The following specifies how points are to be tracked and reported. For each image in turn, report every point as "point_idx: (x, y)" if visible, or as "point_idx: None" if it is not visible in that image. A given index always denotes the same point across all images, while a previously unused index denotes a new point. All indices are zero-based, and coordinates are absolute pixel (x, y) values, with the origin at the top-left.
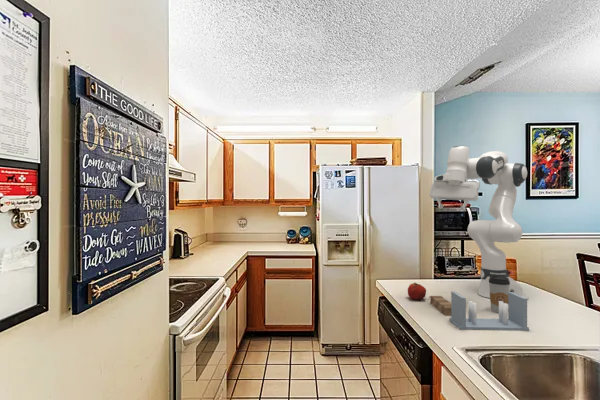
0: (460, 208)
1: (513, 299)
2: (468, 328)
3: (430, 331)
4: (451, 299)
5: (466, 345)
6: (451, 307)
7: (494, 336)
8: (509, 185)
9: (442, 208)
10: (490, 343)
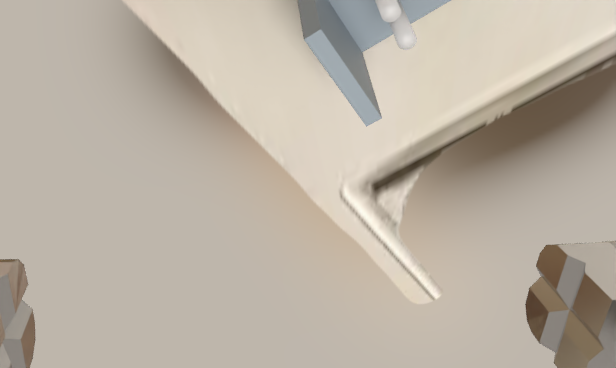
0: (532, 322)
1: None
2: (370, 44)
3: (258, 127)
4: (301, 21)
5: (373, 164)
6: (298, 2)
7: (453, 54)
8: None
9: (24, 270)
10: (436, 117)
